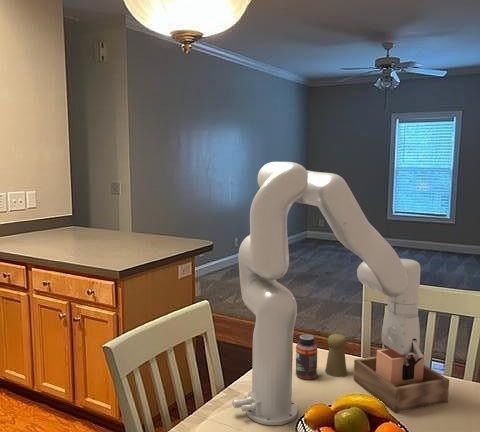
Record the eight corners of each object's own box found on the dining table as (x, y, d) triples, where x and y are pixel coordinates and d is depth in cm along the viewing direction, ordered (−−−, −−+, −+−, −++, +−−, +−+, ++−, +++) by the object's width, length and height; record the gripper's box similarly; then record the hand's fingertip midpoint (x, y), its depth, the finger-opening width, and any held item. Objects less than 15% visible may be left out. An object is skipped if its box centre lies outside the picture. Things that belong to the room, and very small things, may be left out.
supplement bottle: (320, 374, 138) (321, 335, 136) (311, 382, 133) (312, 342, 131) (301, 369, 141) (301, 331, 139) (291, 376, 136) (292, 337, 134)
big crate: (394, 413, 117) (395, 389, 116) (353, 380, 134) (354, 359, 133) (447, 402, 122) (449, 379, 122) (401, 372, 139) (402, 352, 138)
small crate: (390, 386, 123) (392, 359, 122) (375, 375, 129) (376, 350, 128) (422, 380, 126) (424, 354, 125) (406, 370, 132) (408, 345, 131)
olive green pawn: (346, 378, 135) (348, 340, 134) (324, 376, 136) (326, 338, 135) (346, 368, 141) (348, 332, 140) (325, 366, 142) (326, 330, 141)
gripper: (370, 299, 132) (367, 362, 134) (413, 319, 116) (409, 390, 118) (393, 296, 135) (390, 358, 137) (438, 316, 118) (434, 386, 121)
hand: (399, 372), depth 127 cm, fingers closed on small crate, 6 cm apart
